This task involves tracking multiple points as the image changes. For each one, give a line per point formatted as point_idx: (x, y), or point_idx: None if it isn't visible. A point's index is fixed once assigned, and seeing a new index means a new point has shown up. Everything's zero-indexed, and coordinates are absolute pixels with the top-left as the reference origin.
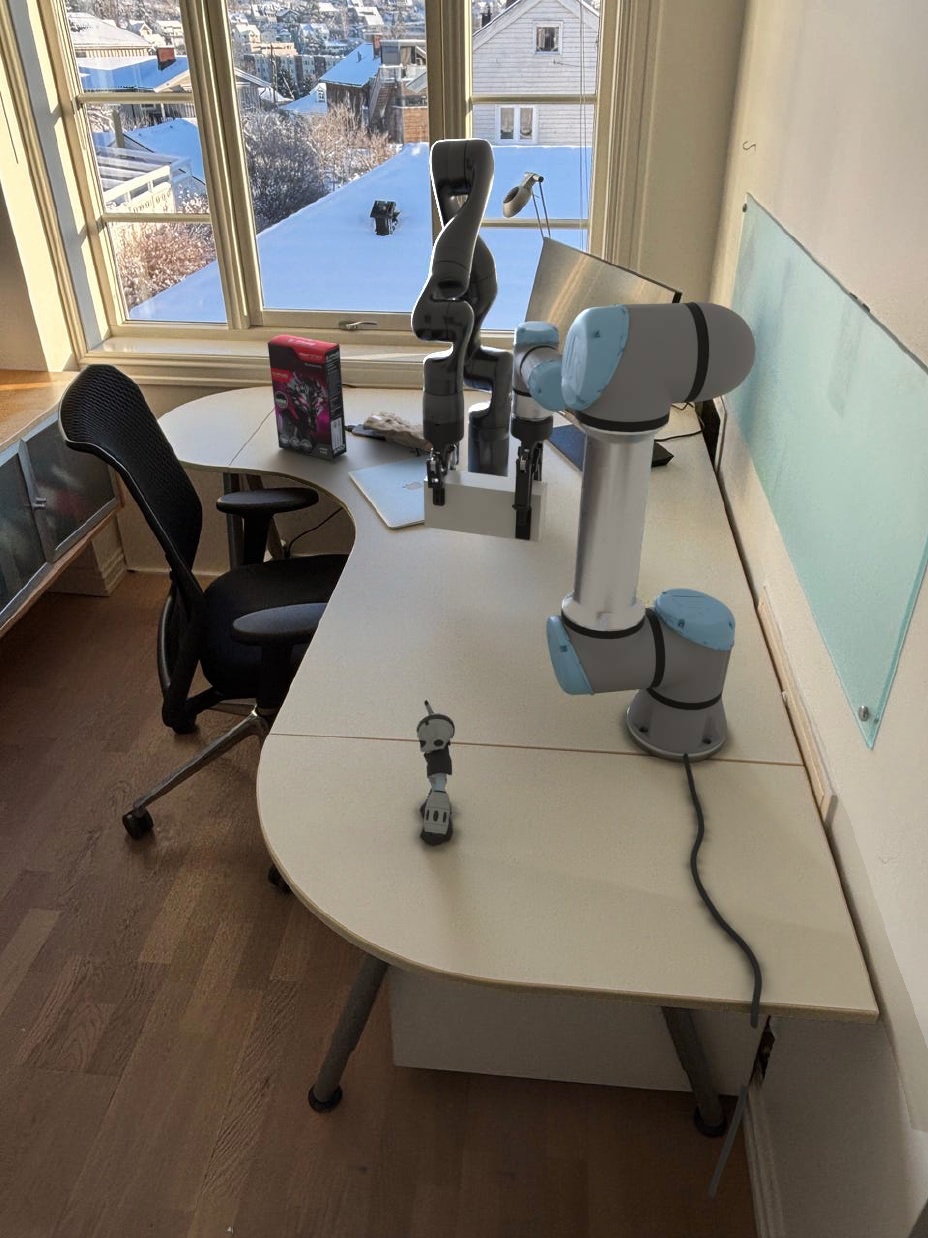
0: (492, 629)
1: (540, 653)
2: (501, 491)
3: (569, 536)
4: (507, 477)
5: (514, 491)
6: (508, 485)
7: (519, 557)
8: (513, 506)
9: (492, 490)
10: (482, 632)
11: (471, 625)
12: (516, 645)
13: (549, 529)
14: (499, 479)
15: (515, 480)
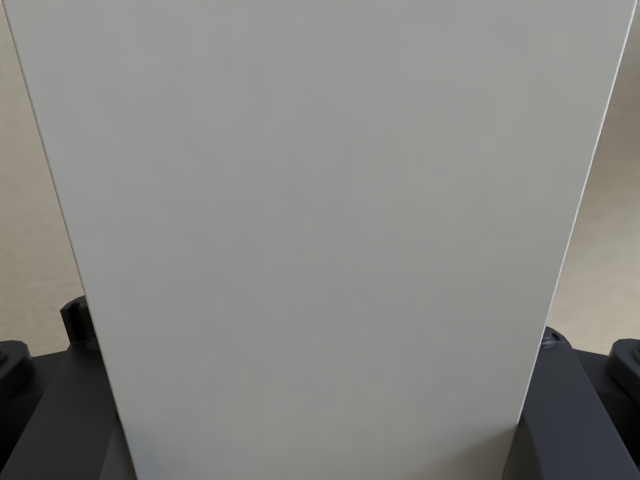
0: (40, 161)
1: (14, 290)
2: (67, 205)
3: (583, 261)
4: (561, 192)
5: (123, 374)
6: (266, 271)
7: None
8: (69, 316)
9: (28, 44)
10: (11, 138)
11: (24, 97)
12: (10, 235)
13: (629, 201)
14: (461, 70)
15: (459, 324)
